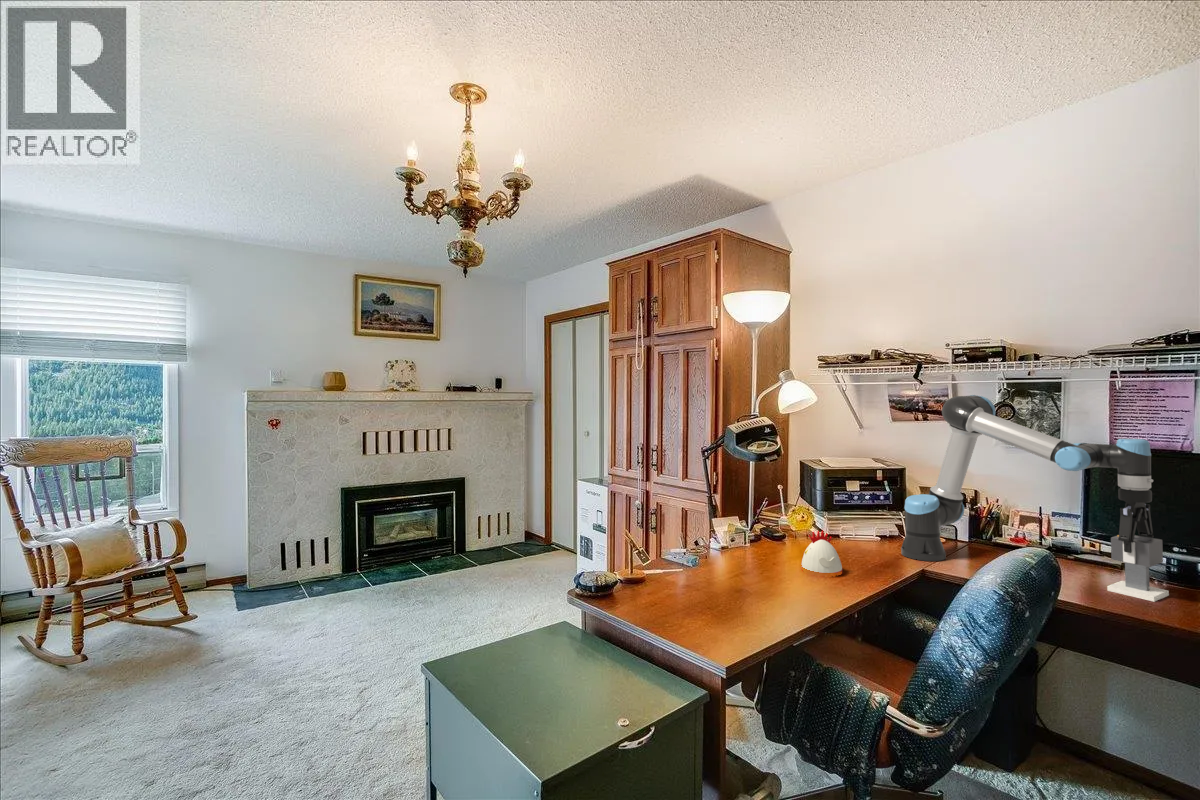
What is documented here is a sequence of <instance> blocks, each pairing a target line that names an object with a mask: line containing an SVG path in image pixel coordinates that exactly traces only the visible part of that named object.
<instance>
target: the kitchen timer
mask: <svg viewBox="0 0 1200 800" xmlns="http://www.w3.org/2000/svg"><path fill="white" fill-rule="evenodd" d="M828 535H829V534H828V533H825V532H824V530H821V532H820V531H819V530H817V532H816V533H815V531H812V535H810V534H808V537H809V540H810V541H811V543H809V545H808V546H807V547H806V549H805V551H804V552H803V556H802V559H801V565H802V566H801V568H802V567H803V568H805V569H807V570H810V571H814V572H819V573H838V572H841V571H842V572H843V566H842V561H841V558H840V557H839V554H838V553H837V550H836V549H835V547H834V546H833V545H832V543H831V541H832V536H829V538H828Z"/></svg>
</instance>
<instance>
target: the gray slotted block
mask: <svg viewBox="0 0 1200 800" xmlns="http://www.w3.org/2000/svg"><path fill="white" fill-rule="evenodd" d="M1118 538H1119V534H1117V535H1114V536H1112V537H1111V536H1110V548H1111V553H1110V554H1111V560H1112V561H1116V562H1123V541H1120V540H1118ZM1133 542H1135V555H1136V564H1137V565H1142V566H1147V567H1149V568H1151V567H1154V566H1156V565H1160V564H1162V563H1163V562H1164V558H1163V557H1164V553H1163V551H1164V550H1163V539H1160V538H1154V537H1153V538H1150V537H1142V536H1139V535H1136V534H1135V536H1134V541H1133ZM1123 563H1124V562H1123ZM1132 564H1133V563H1132Z"/></svg>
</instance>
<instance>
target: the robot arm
mask: <svg viewBox="0 0 1200 800" xmlns="http://www.w3.org/2000/svg"><path fill="white" fill-rule="evenodd" d="M941 415H942V418H943V420H944V421H945V422H947V424H949V427H950V429H951V432H950V433H951V434H950V437H949V441H948V444H947V447H946V450H945V454H944V458H943V461H942V464H941V467H940V470H939V474H938V477H937V480H936V485H934V486H931V487H930V488H929V491H928V493H927V494H926V493H925V494H924V493H923V494H920V493H919V494H912V495H909V496H907V497H906V499H905V500H904V507H903V508H904V517H905V518H904V521H905V537H904V538H903V541H902V545H901V547H900V550H901V551H900V552H901V553H900V554H901V556H904V557H905V558H909V559H913V560H916V559H917V560H918V561H924V562H939V561H944V560H946V558H947V556H946V554H947V553H946V550H945V549H944V545H943V542H942V540H941V533H940V532H941V531H940V530H941V529H940V527H942V526H946V525H951V524H955V523H956V522H958V521H960V520H961V518H963V515H964V513H965V505H964V504H963V500H964V496H963V494H962V493H961V491H962V487H963V485H964V483H965V482H964V481H965V478H966V476H967V475H966V474H967V473H968V468H969V466H970V462H971V459H972V456H973V453H974V450H975V446H976V443H977V440H978V437H980V436H982V435H984V436H986V437H989V438H991V439H994V440H997V441H998V442H1002V443H1004V444H1007V445H1008V446H1011V447H1015V448H1017V449H1020V450H1022V451H1024V452H1027V453H1029V454H1032V455H1035V456H1037V457H1039V458H1043V459H1045V460H1048V461H1050V462H1053V463H1055V464H1056V465H1057V466H1058V467H1059V468H1061V469H1063V470H1065V471H1067V472H1068V471H1070V472H1078V471H1083V470H1085V469H1091V468H1111V469H1117V486H1118V487H1119V488H1118V490H1117V491H1118V492H1117V493H1118V494H1117V495H1118V500H1120V501H1123V502H1125V504H1124V505H1125V506H1124V507H1120V509H1119V513H1120V514H1119V516H1120V517H1119V530H1118V535H1119V538H1118V540H1120V541H1123V563H1125V562H1127V563H1133V564H1136V555H1135V542H1133V541H1134V536H1135V535H1136V534H1135V533H1136V530H1137V534H1138V536H1142V537H1148V538H1154V530H1153V524H1152V523H1153V522H1152V517H1151V505H1150V504H1148V503H1152V501H1153V491H1152V483H1153V482H1154V479H1152V453H1151V446H1150V445H1151V444H1150V441H1148V440H1147V439H1144V438H1119V439H1117V440H1116V444H1104V443H1102V444H1101V443H1087V442H1074V443H1071V442H1068V441H1064V440H1063V439H1061V438H1058V437H1055V436H1052V435H1049V434H1047V433H1044V432H1040V431H1039V430H1035V429H1032V428H1029V427H1027V426H1024V425H1021V424H1018V423H1016V422H1012V421H1010V420H1008V419H1005V418H1001V417H1000V416H998V415H997V416H996V407H995V405H994V403H993V402H992V401H991V400H990V399H989V398H987V397H985V396H982V395H975V394H972V395H957V396H953V397H950V398H949V399H947V400H946V401H945V402H944V404H943V406H942V409H941ZM917 560H916V561H917Z"/></svg>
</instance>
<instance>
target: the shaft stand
mask: <svg viewBox="0 0 1200 800" xmlns="http://www.w3.org/2000/svg"><path fill="white" fill-rule="evenodd" d="M1124 575H1125V577H1124V579H1125V580H1120V581H1117V582H1115V583H1111V584H1110V585H1109V584H1108V585H1107V589H1106V590H1107V591H1108V592H1112V593H1116V594H1120V595H1124V596H1128V597H1133V598H1137V599H1142V600H1146V601H1150V602H1152V603H1153V602H1154V603H1155V602H1157V601H1158V600H1161V599H1164V598H1166V597H1169V596H1170V593H1169V590H1167V589H1162V588H1159V587H1155V586H1150V567H1147V566H1142V565H1137V564H1132V563H1127V562H1124Z"/></svg>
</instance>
